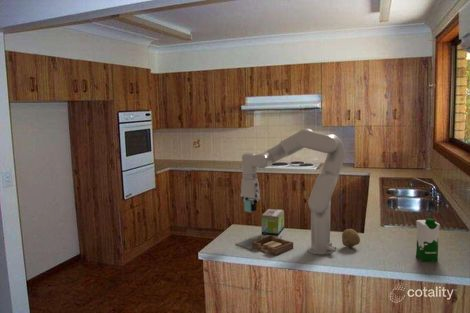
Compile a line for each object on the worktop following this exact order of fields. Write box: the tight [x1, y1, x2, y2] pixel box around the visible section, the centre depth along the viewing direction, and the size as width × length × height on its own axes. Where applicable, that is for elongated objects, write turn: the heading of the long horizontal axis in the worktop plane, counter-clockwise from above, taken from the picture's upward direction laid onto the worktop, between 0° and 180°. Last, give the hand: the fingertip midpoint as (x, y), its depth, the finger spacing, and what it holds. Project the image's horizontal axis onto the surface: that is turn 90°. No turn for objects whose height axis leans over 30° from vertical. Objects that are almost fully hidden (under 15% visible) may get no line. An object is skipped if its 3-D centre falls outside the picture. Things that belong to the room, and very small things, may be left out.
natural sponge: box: [341, 228, 361, 249], centre depth 211 cm, size 9×9×10 cm
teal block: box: [243, 198, 255, 213], centre depth 218 cm, size 4×4×6 cm
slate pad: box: [235, 238, 258, 251], centre depth 220 cm, size 12×12×1 cm
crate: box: [252, 236, 294, 257], centre depth 213 cm, size 16×14×4 cm
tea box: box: [261, 208, 285, 239], centre depth 230 cm, size 15×10×15 cm, turn 161°
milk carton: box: [415, 217, 441, 262], centre depth 193 cm, size 9×9×20 cm
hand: (250, 209), depth 218 cm, fingers closed on teal block, 4 cm apart
